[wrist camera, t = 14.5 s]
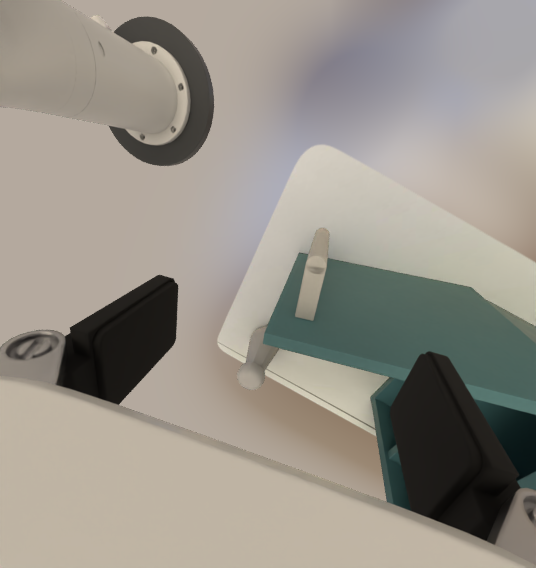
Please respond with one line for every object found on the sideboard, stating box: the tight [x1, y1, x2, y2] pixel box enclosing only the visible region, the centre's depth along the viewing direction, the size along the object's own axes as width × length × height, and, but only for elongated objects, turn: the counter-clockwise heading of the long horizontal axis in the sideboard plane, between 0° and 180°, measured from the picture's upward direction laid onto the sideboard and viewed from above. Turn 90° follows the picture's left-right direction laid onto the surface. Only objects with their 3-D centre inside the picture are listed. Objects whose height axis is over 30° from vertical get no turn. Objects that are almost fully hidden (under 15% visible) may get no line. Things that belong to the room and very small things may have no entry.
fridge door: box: [263, 228, 536, 415], centre depth 30 cm, size 8×26×24 cm, turn 82°
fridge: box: [371, 299, 536, 511], centre depth 35 cm, size 18×26×24 cm
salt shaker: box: [237, 326, 279, 390], centre depth 46 cm, size 6×6×13 cm
